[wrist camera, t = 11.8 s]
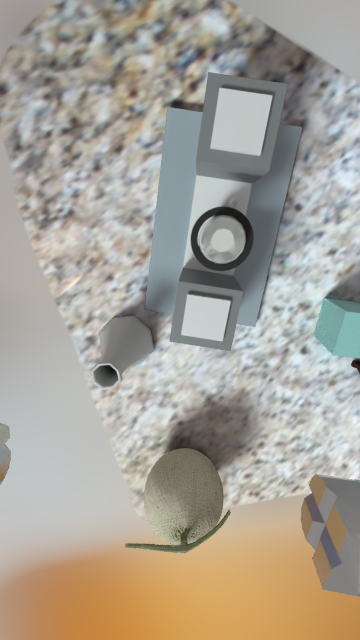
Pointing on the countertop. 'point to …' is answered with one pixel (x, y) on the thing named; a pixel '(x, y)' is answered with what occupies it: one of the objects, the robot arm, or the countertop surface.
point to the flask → (121, 350)
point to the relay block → (339, 327)
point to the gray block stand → (219, 205)
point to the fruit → (183, 500)
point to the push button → (222, 238)
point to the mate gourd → (356, 365)
